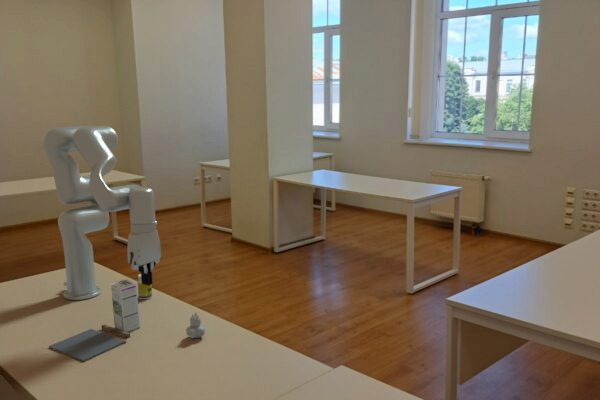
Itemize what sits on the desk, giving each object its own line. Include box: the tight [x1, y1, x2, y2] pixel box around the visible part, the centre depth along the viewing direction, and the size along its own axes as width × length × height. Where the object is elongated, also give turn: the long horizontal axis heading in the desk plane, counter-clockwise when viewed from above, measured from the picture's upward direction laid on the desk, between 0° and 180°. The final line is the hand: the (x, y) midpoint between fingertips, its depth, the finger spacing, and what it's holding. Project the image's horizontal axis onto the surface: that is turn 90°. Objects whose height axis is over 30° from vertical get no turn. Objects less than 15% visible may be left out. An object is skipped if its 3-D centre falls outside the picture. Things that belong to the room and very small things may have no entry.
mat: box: [48, 328, 127, 363], centre depth 158 cm, size 16×14×1 cm
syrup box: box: [110, 279, 141, 333], centre depth 168 cm, size 6×6×14 cm
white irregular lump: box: [185, 311, 206, 339], centre depth 161 cm, size 5×7×8 cm
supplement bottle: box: [137, 273, 153, 300], centre depth 195 cm, size 5×5×8 cm
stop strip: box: [101, 324, 131, 339], centre depth 166 cm, size 12×1×1 cm, turn 56°
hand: (147, 283), depth 174 cm, fingers closed
